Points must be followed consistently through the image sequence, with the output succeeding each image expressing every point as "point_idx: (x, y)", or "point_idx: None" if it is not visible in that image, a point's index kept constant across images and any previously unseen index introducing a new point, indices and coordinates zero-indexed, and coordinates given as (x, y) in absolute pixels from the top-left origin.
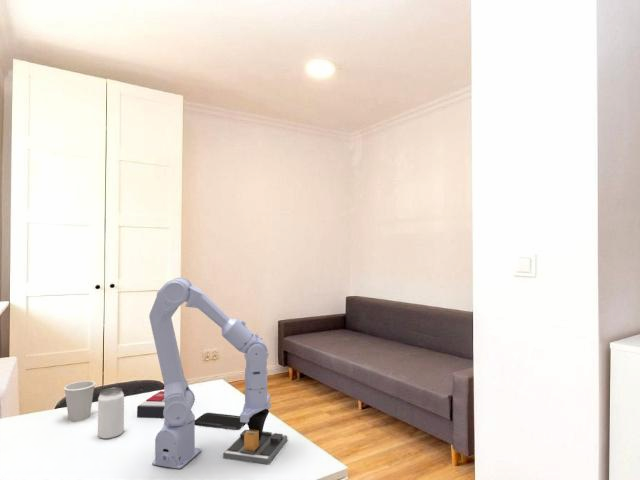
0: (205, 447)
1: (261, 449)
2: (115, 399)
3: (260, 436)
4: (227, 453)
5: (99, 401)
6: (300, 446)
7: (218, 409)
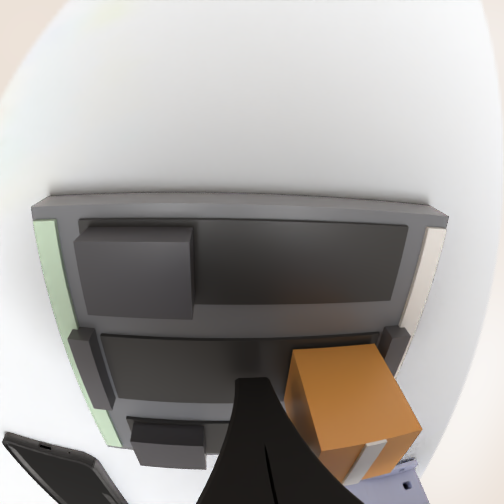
0: None
1: (319, 317)
2: None
3: (265, 396)
4: None
5: None
6: (115, 47)
7: (27, 491)
